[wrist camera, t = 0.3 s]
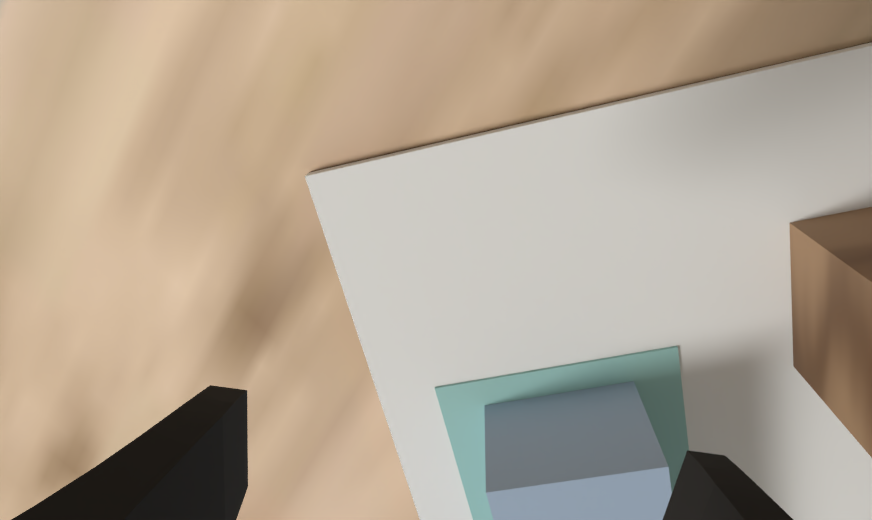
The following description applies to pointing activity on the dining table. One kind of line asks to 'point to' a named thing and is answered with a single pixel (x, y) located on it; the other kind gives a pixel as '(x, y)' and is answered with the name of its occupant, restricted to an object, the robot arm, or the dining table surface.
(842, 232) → the walnut cube
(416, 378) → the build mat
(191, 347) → the dining table surface
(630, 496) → the base block
